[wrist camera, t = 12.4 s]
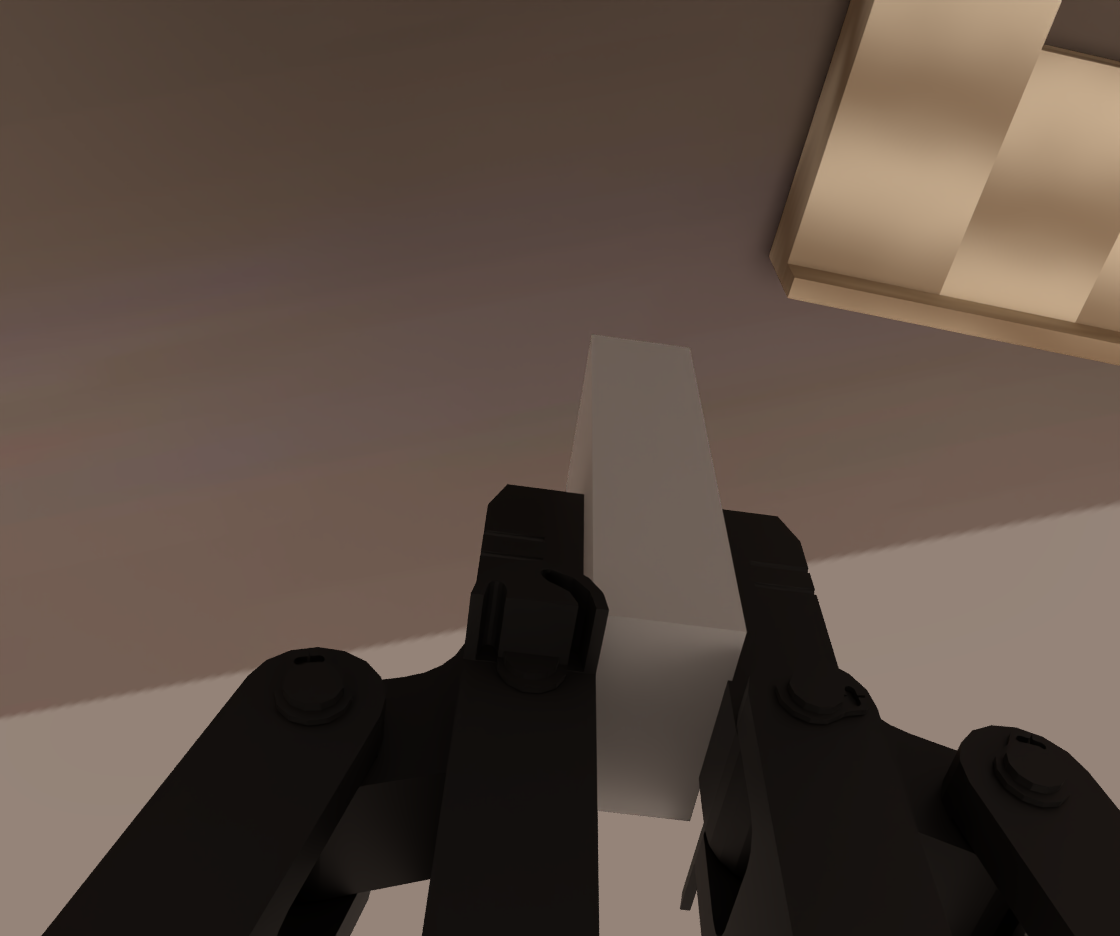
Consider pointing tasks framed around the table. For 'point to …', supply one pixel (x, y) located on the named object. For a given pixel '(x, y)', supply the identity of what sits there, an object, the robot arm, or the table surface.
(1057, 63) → the trap box
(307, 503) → the table surface
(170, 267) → the table surface
